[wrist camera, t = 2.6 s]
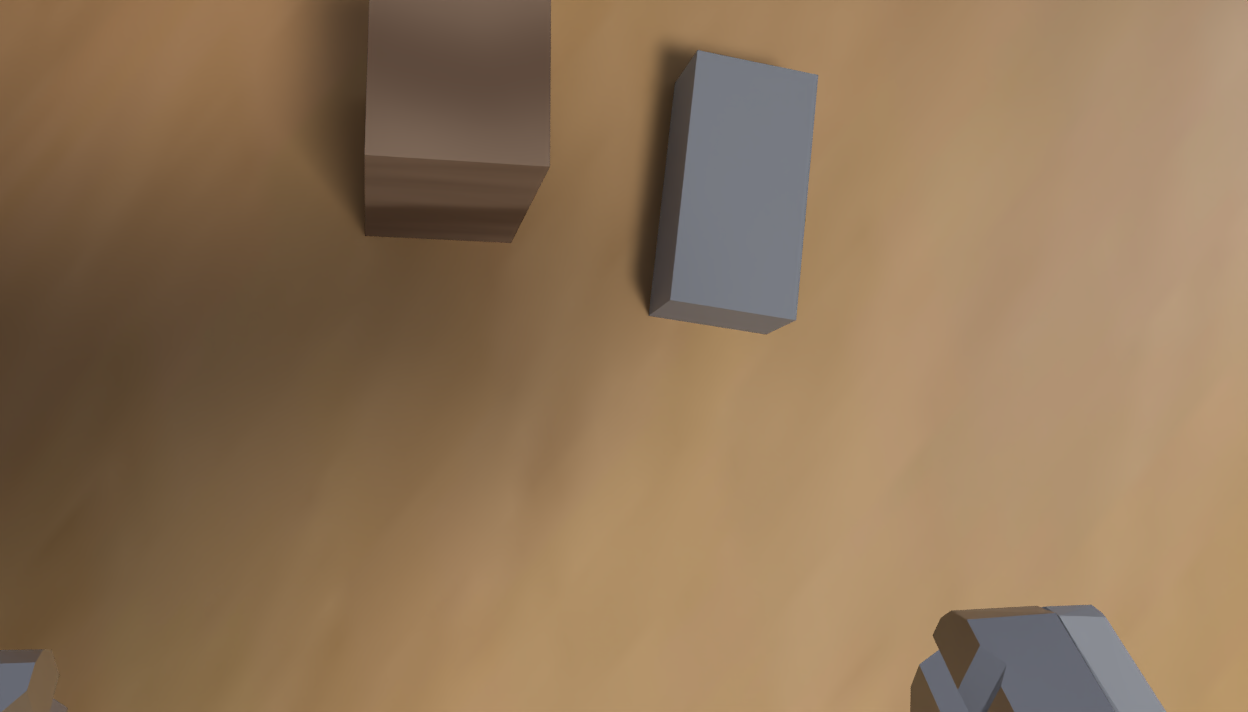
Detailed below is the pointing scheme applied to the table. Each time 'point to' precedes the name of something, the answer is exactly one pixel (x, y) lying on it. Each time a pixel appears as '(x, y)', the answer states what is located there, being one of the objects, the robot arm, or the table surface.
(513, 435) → the table surface
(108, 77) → the table surface
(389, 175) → the walnut column
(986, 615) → the robot arm
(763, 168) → the grey flat brick
